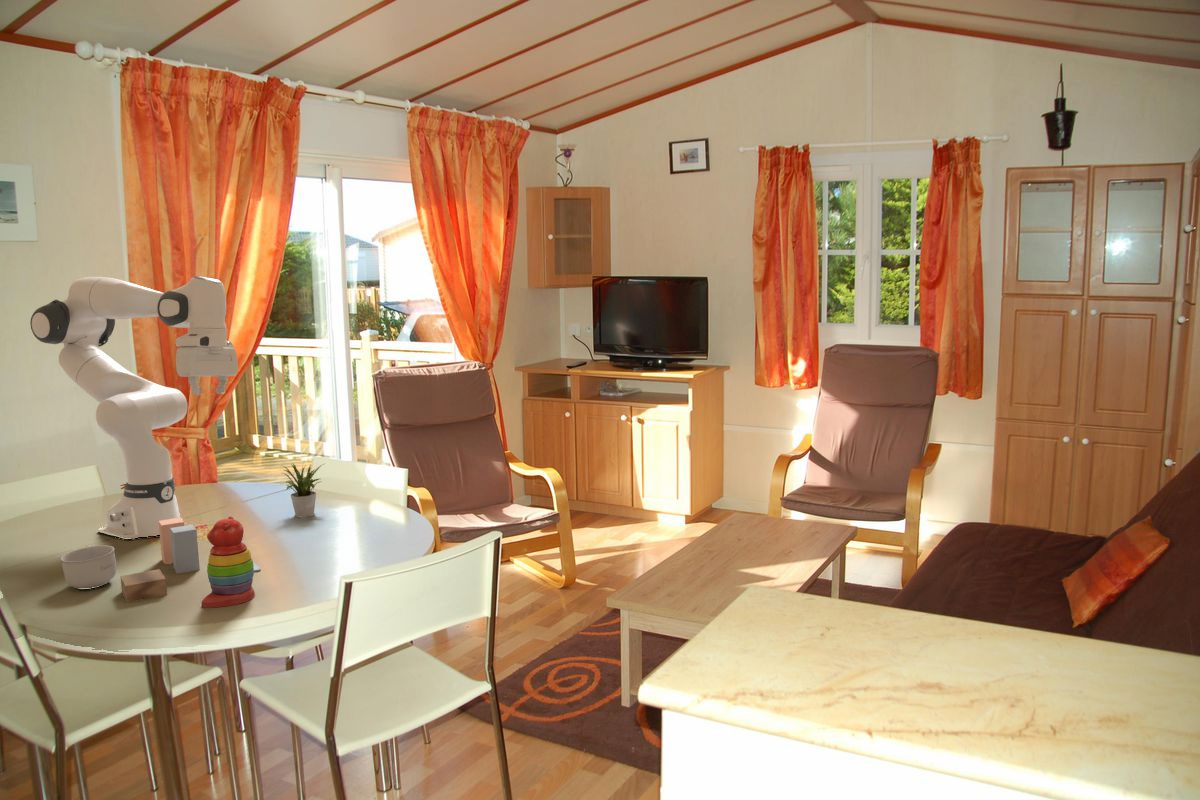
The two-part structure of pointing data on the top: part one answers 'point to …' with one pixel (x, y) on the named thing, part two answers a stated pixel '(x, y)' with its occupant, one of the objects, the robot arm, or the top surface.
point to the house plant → (303, 491)
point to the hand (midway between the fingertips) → (208, 394)
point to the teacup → (89, 566)
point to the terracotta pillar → (167, 537)
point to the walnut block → (143, 585)
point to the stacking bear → (228, 566)
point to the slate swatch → (256, 568)
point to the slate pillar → (185, 549)
